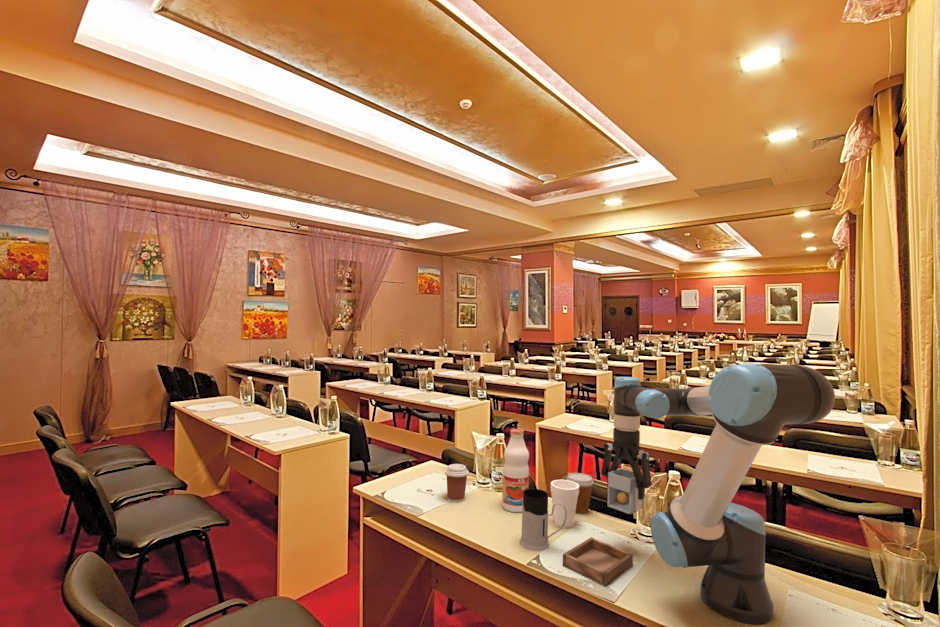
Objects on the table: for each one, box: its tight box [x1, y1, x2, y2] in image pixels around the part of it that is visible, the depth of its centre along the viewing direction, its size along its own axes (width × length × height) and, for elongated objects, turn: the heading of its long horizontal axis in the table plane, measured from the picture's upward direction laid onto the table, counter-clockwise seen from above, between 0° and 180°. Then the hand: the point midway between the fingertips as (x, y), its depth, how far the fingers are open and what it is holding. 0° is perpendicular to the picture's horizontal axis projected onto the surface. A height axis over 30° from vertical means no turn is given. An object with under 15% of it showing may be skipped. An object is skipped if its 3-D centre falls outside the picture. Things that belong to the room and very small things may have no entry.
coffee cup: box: [444, 463, 470, 503], centre depth 166 cm, size 9×9×12 cm
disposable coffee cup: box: [566, 472, 595, 515], centre depth 159 cm, size 10×10×12 cm
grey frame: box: [607, 467, 644, 515], centre depth 132 cm, size 7×7×10 cm
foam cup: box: [550, 479, 579, 529], centre depth 148 cm, size 10×9×13 cm
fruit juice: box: [501, 428, 530, 513], centre depth 160 cm, size 9×9×28 cm
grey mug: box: [519, 488, 567, 551], centre depth 132 cm, size 9×14×15 cm, turn 59°
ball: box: [616, 492, 627, 503], centre depth 134 cm, size 3×3×3 cm
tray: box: [562, 537, 634, 587], centre depth 122 cm, size 13×15×3 cm
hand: (625, 505), depth 132 cm, fingers closed on grey frame, 7 cm apart
